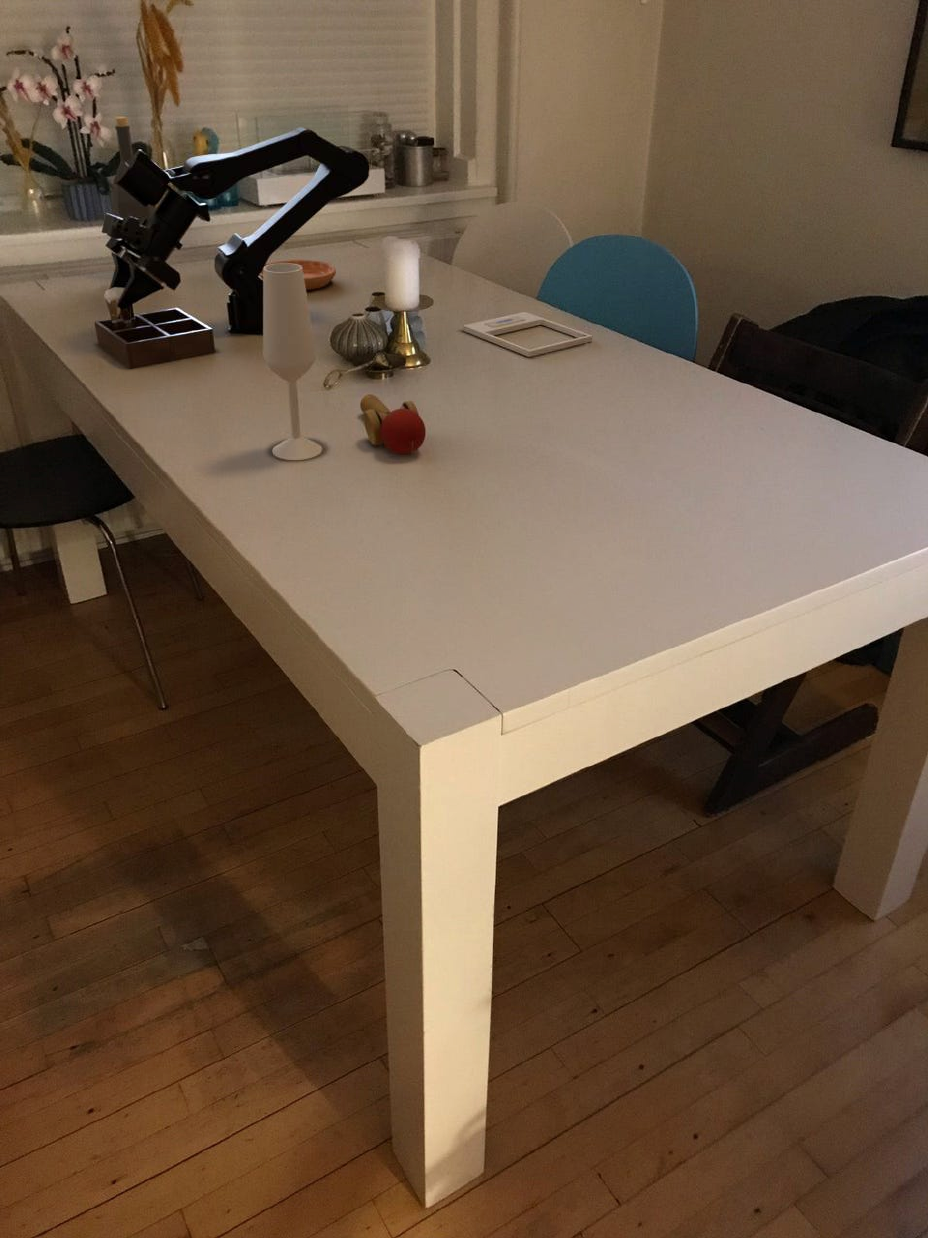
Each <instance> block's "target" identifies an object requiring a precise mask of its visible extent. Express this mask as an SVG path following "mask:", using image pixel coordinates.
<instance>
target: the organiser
mask: <svg viewBox="0 0 928 1238" xmlns="http://www.w3.org/2000/svg"><path fill="white" fill-rule="evenodd" d="M134 317H135V327H136V328H130V329H124V330H118V331H114V329H113V325H112V322H111V318H107V319H99V320H94V328H95V334H96V339H97V344H98V346H99V347H101V349H103V350H105V351H106V352H107V353H108V354H110V355H111V356H113V357H114V358H115V359H117V360H118V361H119V362H121V363H122V364H123V365H125V366H126V367H127V368H128V369H135V368H141V367H145V366H150V365H157V364H161V363H167V362H172V361H177V360H182V359H187V358H193V357H198V356H199V357H200V356H203V355H208V354H214V353H216V348H215V347H216V345H215V339H214V330H213V328H211V327H210V326H208V325H207V324H205V323H203V322H202V321H200V320H198V319H197V318H195V317H194V316H192V315H190V314H188V313H187V312H185V311H184V310H182V309H180V308H178V307H173V308H167V309H161V310H156V311H149V312H144V313H137V314H134Z"/></svg>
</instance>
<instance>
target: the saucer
mask: <svg viewBox="0 0 928 1238" xmlns="http://www.w3.org/2000/svg"><path fill="white" fill-rule="evenodd" d="M277 263H292V264H298V265H300V266H302V269H303V275H304V281H305V287H306V291H310V290H311V291H312V290H316V289H320V288H323V287H325V286H327V285H328V284H329V283H330V282H331V281H332V280H333V279H334V277H335V276H336V273H337V268H336V267H335V265H333V264H332V263H329V262H326V261H321V260H310V259H289V260H279V261H274V262H269V263H266V264H265V266H267V265H271V264H277ZM265 266H264V267H265ZM259 277H260V278H262V279H263V270H262V272H261V273H260V274H259Z"/></svg>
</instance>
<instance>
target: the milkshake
mask: <svg viewBox="0 0 928 1238" xmlns="http://www.w3.org/2000/svg"><path fill="white" fill-rule="evenodd" d="M124 289H125V288H117V287H114V288H111V289H109V288H108V289H106V291H105V292H104V294H103V297H104V302H105V304H106V308H107V311H108V314H109V319H111V322H112V325H113V329H114V331H118V330H124V329H130V328H136V327H135V317H134V315H135V309H134V306H135V305H134V304H132V305H130V306H129V307H127V308H125V309H123V310H122V309H120V308H119V307H117V304H118V301H119V299H120V297H121V295H122V293H123V291H124Z"/></svg>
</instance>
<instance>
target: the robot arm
mask: <svg viewBox="0 0 928 1238" xmlns="http://www.w3.org/2000/svg"><path fill="white" fill-rule="evenodd" d="M303 157H309V158H311V159H312V160H315V161H316V162H317V163H319V165H318V168H317V170H316V172H315V174H314V176H313V178H312V179H311V181H309V183H307V184H306V185H305V186H304V187H303V188H302V189H301V190H300V191H298V192H297V194H295V195H294V196H293V197H292V198H291V199H289V201H288V202H286V203H285V204H284V205H283V206H282V207H281V208H280V209H279V210H278V211H276V212H275V213H274V214H273V215H272V216H271V217H270V218H269V219H268V220H267V221H266V222H264V223H263V224H262V225H261V226H260V227H259V228H258V229H256V230H255V232H253V233H252V234H250V235H248V236H246V237H243V238H242V237H241V236H240V235H239V234H237V232H235V233H234V234H233V235H232V236H231V237H230V238H229V239H228V240H227V242H226V243H224V244H223V245H220V246H218V247H217V249H218V253H217V254H216V255H215V257H214V260H213V261H214V263H213V264H214V265H213V267H214V271H215V273H216V275H217V276H218V278H219V279H220V280H221V281H222V282H223V283H224V284H225V285H226V286H227V287H228V288H229V289H230V290H231V292H230V293H228V301H227V302H226V309H227V310H226V311H227V318H228V325H229V326H230V327H229V328H228V332H230V333H241V334H242V333H243V334H244V333H245V334H259V335H263V279H262V278H260V277H259V274H260V273H261V272H262V270H263V268H264V266H265V264H267V263H268V261H269V259H270V257H271V255H273V254H274V253H275V252H276V251H277V250H278V249H279V248H280V247H281V246H282V245H284V243H285V242H287V241H288V240H289V239H290V238H291V237H292V236H293V235H294V234H296V232H298V231H299V230H300V229H301V228H303V226H305V225H306V224H307V223H308V222H309V221H310V220H311V219H312V218H313V217H314V216H315V215H316V214H318V213H319V212H320V211H321V210H322V209H323V208H325V206H326V205H328V204H329V203H331V202H332V201H333V200H335V199H338V198H341V197H343V196H345V195H346V196H347V195H348V194H349V193H351V192H353V191H354V190H357V189H358V188H360V187H361V186H362V185H364V184H365V183H366V181H367V180H368V179H369V176H370V163H369V160H368V158H367V157H366V155H365V154H363V152H360V151H358V150H356V149H355V148H352V147H349V146H346V145H335V144H334V143H331V142H330V141H328V140H327V139H325V138H323V137H322V136H320V135H318V134H317V133H316V132H315V131H313V130H312V129H310V128H308V127H304V126H299V127H296V128H295V129H294V130H292V131H289V132H287V133H283V134H280V135H278V136H275V137H272V138H269V139H267V140H264V141H261V142H258V143H255V144H252V145H250V146H247V147H244V148H241V149H238V150H236V151H231V152H228V153H212V154H203V155H197V156H192V157H190V158H188V159H186V160H185V162H184V163H183V165H181V166H176V167H173V168H168V169H165V170H164V169H162V167H160V166H159V165H158V164H156V163H155V162H154V161H153V160H152V159H151V158H150V156H149V155H148V154H146V153H145V152H144V151H143V150H142V149H137V151H136V152H135V153H134V154H133V156H132V157H131V158H130V159H129V160H128V161H127V162H126V163H125V162H124V163H123V165H122V166H121V167H120V169H119V171H118V170H117V171H118V172H117V171H116V173H117V174H115V176H114V177H113V185H114V184H116V185H117V186H118V187H119V188H121V189H122V190H123V191H124V192H126V193H127V194H128V195H129V196H131V197H132V198H133V199H134V200H136V201H137V202H138V203H139V204H141V205H142V206H143V207H145V206H147V205H149V204H150V205H151V206H155V208H156V210H155V211H154V213H153V215H152V216H151V217H150V219H147V218H142V219H141V220H140V221H139V219H137V218H133V217H131V216H128V215H126V216H125V218H124V219H123V218H120V217H117V216H115V215H114V214H112V213H108V212H106V213H105V215H104V220H103V224H102V228H101V233H102V234H106V235H107V236H108V237H110V238H109V239H108V240H107V242H106V244H105V247H106V248H107V249H109V250H110V251H111V254H110V255H111V257H112V259H113V263H114V272H113V275H112V279H111V282H110V286H109V288H108V289H111V288H114V287H117V288H125V289H124V291H123V293H122V295H121V297H120V299H119V301H118V304H117V307H119V308H120V309H122V310H123V309H125V308H127V307H129V306H130V305H132V304H133V305H134V304H136V303H138V302H139V301H141V300H143V299H145V298H146V297H149V296H150V295H152V294H154V293H156V292H158V291H163V290H164V289H165V287H164V286H163V285H162V284H163V283H164V284H165V286H166V287H167V288H169V289H170V290H173V291H176V289H177V288H178V286H179V285H180V283H182V281H181V280H182V279H181V274H180V272H178V270H176V269H175V268H174V267H172V266H171V264H169V263H167V261H168V260H169V258H170V257H171V255H172V253H173V252H174V251H175V249H176V250H178V251H180V250H181V249H182V247H183V246H184V244H182V243H181V241H182V239H183V238H184V236H185V234H186V233H187V231H188V230H189V228H190V227H191V226H192V224H193V223H194V221H195V220H196V218H198V219H200V221H203V222H207V223H209V222H210V221H211V216H210V212H209V204H208V203H204V202H202V203H199V202H198V201H197V200H196V199H194V198H193V197H192V196H191V195H190V194H188V193H189V192H190V193H192V194H193V195H194V196H195V197H197V198H199V199H201V200H205V201H208V200H213V199H215V198H217V197H218V196H220V195H221V194H223V193H225V192H227V191H229V190H230V189H232V187H234V186H235V185H236V184H238V183H239V182H240V181H242V180H244V179H245V178H247V177H248V178H249V177H251V176H253V175H256V174H259V173H262V172H264V171H267V170H270V169H273V168H275V167H278V166H281V165H284V164H287V163H289V162H293V161H295V160H298V159H301V158H303ZM169 184H171V185H173V186H174V187H175V188H176V189H177V190H179V191H181V192H183V193H181V194H180V193H178V192H177V191H176V190H175V189H174V188H172V187H171V186H170V185H169ZM158 203H159V204H158ZM157 204H158V205H157ZM156 206H157V207H156Z"/></svg>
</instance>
